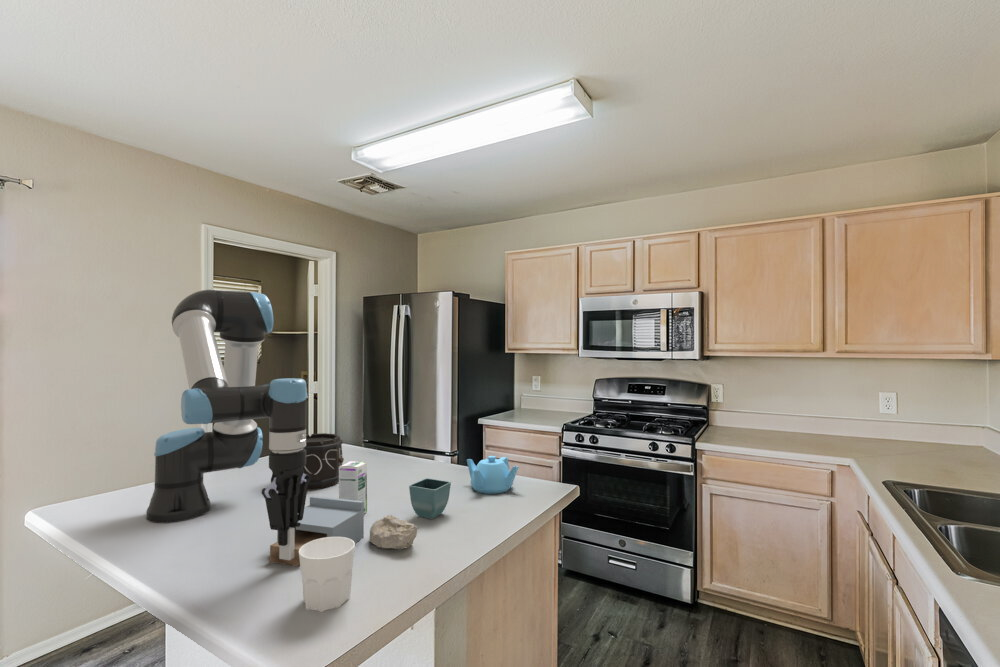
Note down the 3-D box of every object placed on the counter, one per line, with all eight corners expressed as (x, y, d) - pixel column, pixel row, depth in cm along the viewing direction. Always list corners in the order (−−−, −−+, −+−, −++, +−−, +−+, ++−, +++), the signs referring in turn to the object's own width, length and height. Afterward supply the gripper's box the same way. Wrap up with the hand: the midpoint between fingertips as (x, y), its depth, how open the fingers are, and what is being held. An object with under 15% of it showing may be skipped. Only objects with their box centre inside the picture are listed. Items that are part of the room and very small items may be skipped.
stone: (387, 570, 112) (402, 536, 110) (357, 533, 119) (371, 500, 116) (411, 559, 118) (426, 527, 116) (382, 524, 125) (396, 493, 122)
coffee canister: (333, 491, 160) (333, 442, 160) (278, 490, 160) (279, 442, 161) (350, 475, 178) (350, 432, 178) (301, 475, 178) (302, 432, 179)
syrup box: (357, 519, 134) (358, 466, 135) (338, 517, 136) (338, 465, 136) (367, 512, 140) (367, 461, 140) (348, 510, 141) (348, 460, 141)
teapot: (519, 494, 157) (519, 460, 157) (473, 497, 154) (473, 463, 154) (508, 481, 172) (508, 450, 172) (466, 483, 169) (466, 452, 169)
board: (269, 563, 108) (270, 545, 109) (310, 539, 122) (310, 523, 122) (300, 568, 106) (300, 549, 106) (338, 543, 120) (338, 526, 120)
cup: (321, 583, 99) (321, 534, 99) (364, 590, 96) (365, 540, 96) (286, 609, 89) (286, 554, 89) (333, 618, 86) (333, 562, 86)
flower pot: (451, 512, 140) (451, 481, 140) (435, 523, 132) (435, 489, 132) (425, 508, 144) (425, 477, 144) (408, 518, 136) (408, 485, 136)
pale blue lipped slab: (277, 550, 114) (277, 512, 114) (312, 530, 126) (312, 495, 126) (332, 559, 110) (332, 518, 110) (363, 537, 122) (363, 501, 122)
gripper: (281, 457, 100) (279, 574, 99) (321, 444, 112) (320, 548, 112) (251, 454, 102) (249, 569, 101) (293, 442, 114) (292, 544, 114)
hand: (286, 558), depth 106 cm, fingers closed
